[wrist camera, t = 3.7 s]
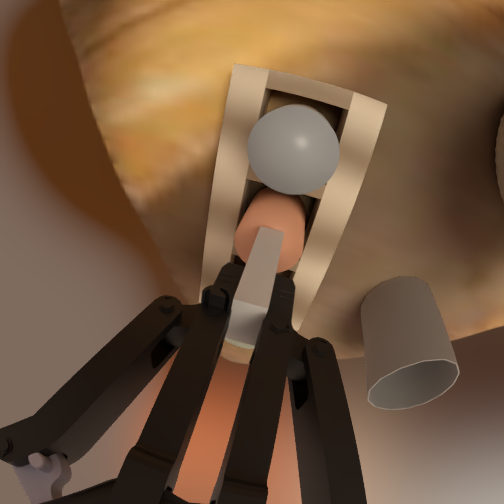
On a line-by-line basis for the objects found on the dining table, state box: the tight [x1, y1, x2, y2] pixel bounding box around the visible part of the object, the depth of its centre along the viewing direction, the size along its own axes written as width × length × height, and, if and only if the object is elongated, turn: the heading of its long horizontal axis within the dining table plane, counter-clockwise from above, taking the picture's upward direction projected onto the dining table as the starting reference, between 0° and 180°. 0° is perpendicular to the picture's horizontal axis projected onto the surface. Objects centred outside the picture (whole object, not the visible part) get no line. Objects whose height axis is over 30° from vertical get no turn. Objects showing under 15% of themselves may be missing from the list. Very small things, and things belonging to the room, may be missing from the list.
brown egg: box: [234, 187, 306, 273], centre depth 19 cm, size 4×4×5 cm
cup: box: [361, 276, 460, 410], centre depth 22 cm, size 8×8×10 cm
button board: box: [199, 64, 387, 330], centre depth 21 cm, size 21×10×3 cm, turn 169°
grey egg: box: [247, 104, 340, 195], centre depth 14 cm, size 4×4×5 cm
